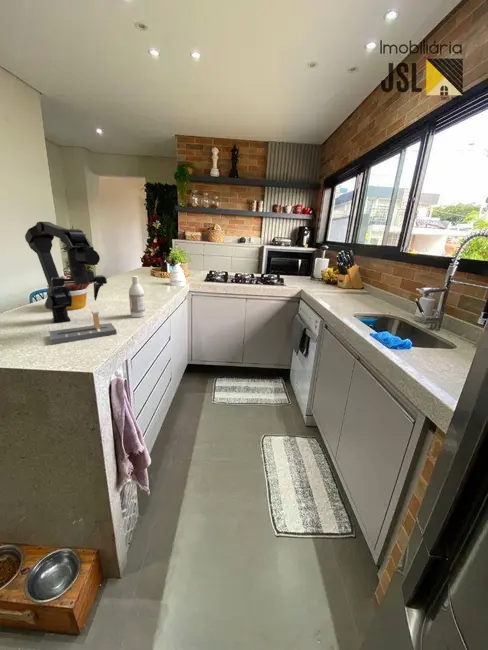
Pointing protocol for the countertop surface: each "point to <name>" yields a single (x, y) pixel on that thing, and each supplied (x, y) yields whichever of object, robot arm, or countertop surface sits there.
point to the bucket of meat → (76, 294)
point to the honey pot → (177, 276)
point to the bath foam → (136, 298)
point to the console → (81, 333)
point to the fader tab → (96, 319)
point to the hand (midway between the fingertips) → (82, 301)
